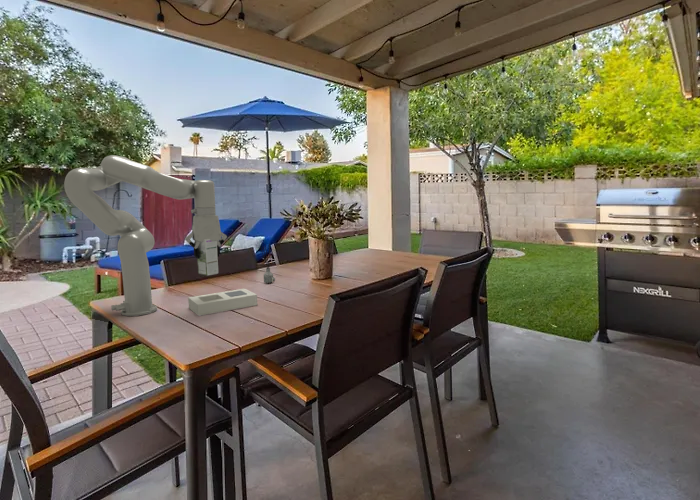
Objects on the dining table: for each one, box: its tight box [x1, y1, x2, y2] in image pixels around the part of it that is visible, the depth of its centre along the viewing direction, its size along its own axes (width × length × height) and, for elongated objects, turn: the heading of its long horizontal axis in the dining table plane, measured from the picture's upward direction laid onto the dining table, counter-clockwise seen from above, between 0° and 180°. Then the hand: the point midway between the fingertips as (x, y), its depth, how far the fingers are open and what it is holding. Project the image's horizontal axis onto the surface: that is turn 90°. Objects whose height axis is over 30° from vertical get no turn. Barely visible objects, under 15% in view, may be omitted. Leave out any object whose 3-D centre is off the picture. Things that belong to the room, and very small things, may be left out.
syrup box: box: [196, 239, 219, 276], centre depth 164 cm, size 6×6×14 cm
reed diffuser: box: [259, 243, 276, 283], centre depth 211 cm, size 10×7×20 cm
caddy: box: [187, 288, 258, 317], centre depth 170 cm, size 24×13×5 cm, turn 126°
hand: (207, 256), depth 164 cm, fingers closed on syrup box, 7 cm apart
